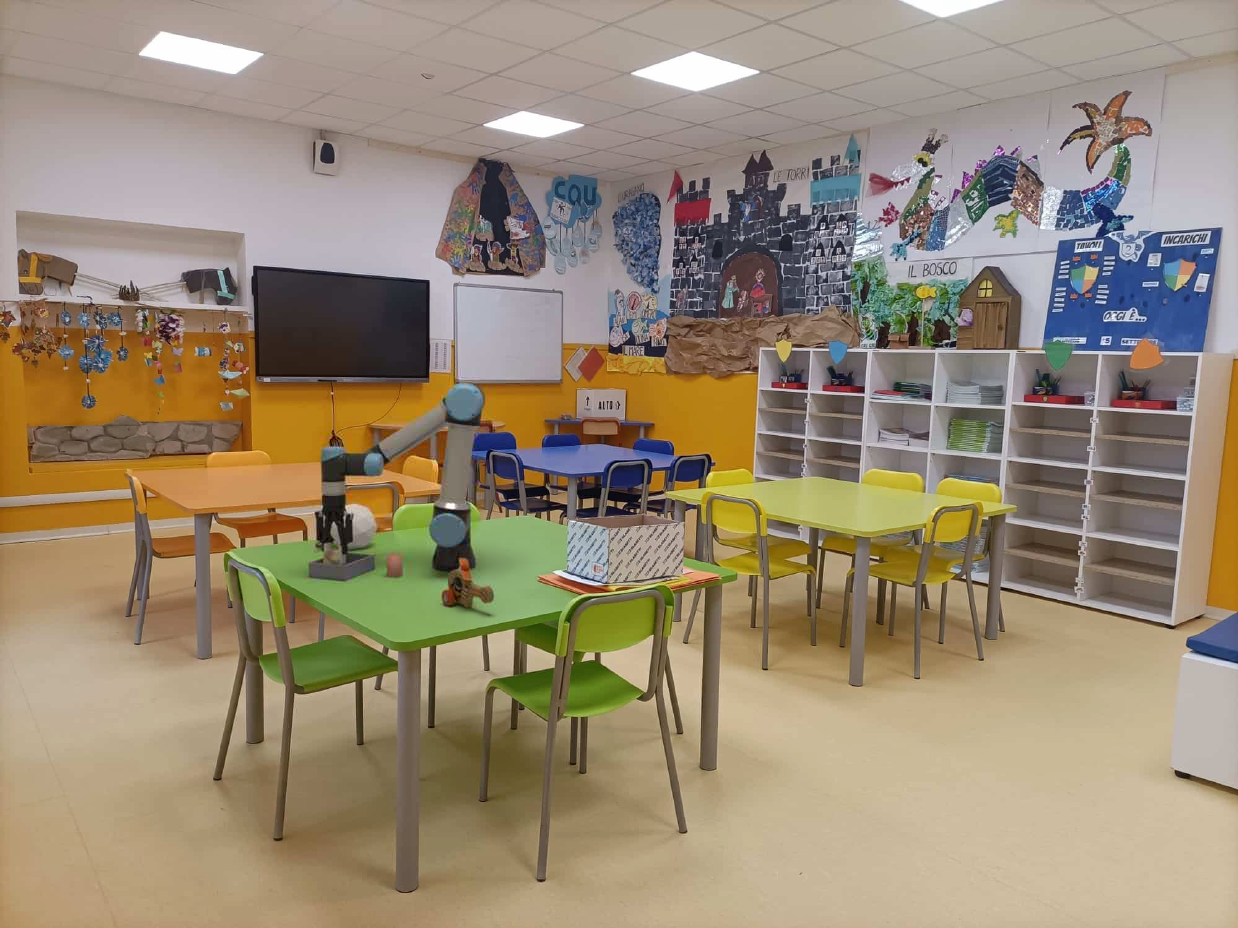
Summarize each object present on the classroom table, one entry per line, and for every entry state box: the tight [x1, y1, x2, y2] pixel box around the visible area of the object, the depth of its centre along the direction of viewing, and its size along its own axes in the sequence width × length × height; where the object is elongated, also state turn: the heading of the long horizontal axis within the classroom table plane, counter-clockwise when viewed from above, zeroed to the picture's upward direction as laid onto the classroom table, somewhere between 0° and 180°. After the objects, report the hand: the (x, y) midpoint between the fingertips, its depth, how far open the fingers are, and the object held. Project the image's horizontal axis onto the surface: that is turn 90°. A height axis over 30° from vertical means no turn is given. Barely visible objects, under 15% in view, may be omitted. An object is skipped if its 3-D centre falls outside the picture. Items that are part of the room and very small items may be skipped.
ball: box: [315, 503, 378, 551], centre depth 331 cm, size 17×25×24 cm
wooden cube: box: [322, 547, 346, 565], centre depth 288 cm, size 5×5×5 cm
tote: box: [308, 552, 376, 582], centre depth 292 cm, size 18×14×5 cm
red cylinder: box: [386, 553, 403, 579], centre depth 290 cm, size 5×5×7 cm
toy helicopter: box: [441, 558, 495, 609], centre depth 253 cm, size 8×21×14 cm, turn 45°
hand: (335, 562), depth 288 cm, fingers closed on wooden cube, 5 cm apart
